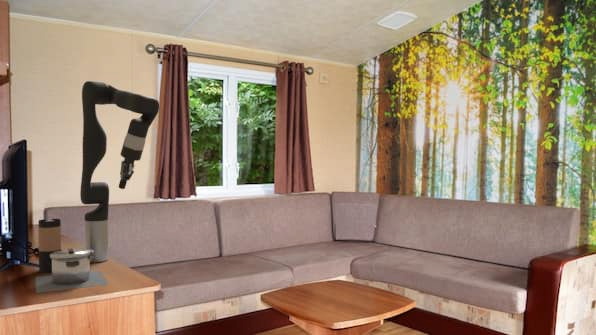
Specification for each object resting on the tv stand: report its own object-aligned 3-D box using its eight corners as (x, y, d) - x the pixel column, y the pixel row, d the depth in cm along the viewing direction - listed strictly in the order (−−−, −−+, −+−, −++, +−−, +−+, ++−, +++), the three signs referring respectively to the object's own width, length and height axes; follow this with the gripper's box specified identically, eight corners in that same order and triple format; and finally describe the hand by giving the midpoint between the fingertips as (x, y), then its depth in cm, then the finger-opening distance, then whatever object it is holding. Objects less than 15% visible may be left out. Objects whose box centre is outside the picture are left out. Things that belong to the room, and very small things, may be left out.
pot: (51, 277, 170) (50, 252, 170) (89, 273, 177) (89, 249, 177) (53, 288, 156) (52, 261, 156) (94, 283, 163) (94, 257, 162)
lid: (49, 255, 168) (49, 248, 168) (91, 250, 175) (91, 244, 175) (50, 262, 157) (50, 255, 157) (96, 257, 164) (96, 250, 164)
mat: (35, 278, 170) (35, 277, 170) (100, 271, 181) (100, 270, 181) (35, 294, 151) (35, 292, 151) (108, 285, 162) (108, 284, 162)
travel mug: (51, 275, 175) (51, 221, 175) (33, 273, 177) (33, 221, 176) (65, 270, 183) (65, 219, 182) (48, 269, 184) (48, 218, 184)
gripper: (120, 139, 183) (109, 181, 186) (126, 148, 172) (114, 192, 175) (139, 144, 187) (128, 184, 190) (146, 152, 176) (134, 195, 179)
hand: (121, 188), depth 182 cm, fingers closed
